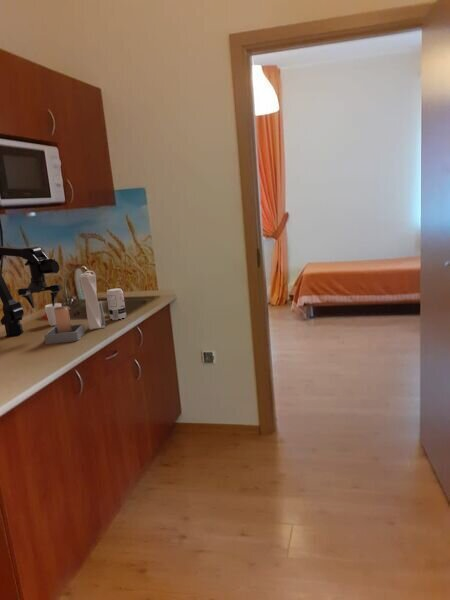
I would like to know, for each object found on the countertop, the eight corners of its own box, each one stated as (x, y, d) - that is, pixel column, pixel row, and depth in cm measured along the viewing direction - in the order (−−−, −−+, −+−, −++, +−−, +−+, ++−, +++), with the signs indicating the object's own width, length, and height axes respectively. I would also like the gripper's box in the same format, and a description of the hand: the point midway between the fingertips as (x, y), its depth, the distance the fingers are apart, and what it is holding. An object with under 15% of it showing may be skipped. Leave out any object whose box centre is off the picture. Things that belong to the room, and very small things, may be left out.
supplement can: (109, 318, 245) (105, 289, 242) (125, 315, 248) (121, 287, 245) (111, 321, 238) (107, 292, 235) (127, 318, 241) (123, 289, 237)
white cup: (61, 325, 240) (57, 306, 238) (45, 326, 240) (42, 307, 238) (66, 321, 247) (63, 302, 245) (51, 322, 248) (48, 303, 246)
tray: (45, 344, 208) (44, 335, 207) (55, 335, 221) (53, 326, 221) (78, 340, 208) (76, 332, 207) (85, 332, 222) (84, 323, 221)
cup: (61, 338, 211) (56, 310, 208) (57, 336, 215) (52, 308, 212) (74, 335, 214) (69, 307, 211) (70, 332, 219) (65, 305, 216)
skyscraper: (104, 328, 224) (95, 270, 218) (86, 331, 223) (77, 272, 217) (106, 324, 233) (97, 267, 227) (89, 326, 232) (80, 269, 226)
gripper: (10, 279, 210) (16, 313, 213) (52, 274, 211) (58, 309, 214) (19, 275, 221) (25, 308, 224) (59, 271, 221) (65, 303, 225)
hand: (43, 307), depth 221 cm, fingers open, 9 cm apart
